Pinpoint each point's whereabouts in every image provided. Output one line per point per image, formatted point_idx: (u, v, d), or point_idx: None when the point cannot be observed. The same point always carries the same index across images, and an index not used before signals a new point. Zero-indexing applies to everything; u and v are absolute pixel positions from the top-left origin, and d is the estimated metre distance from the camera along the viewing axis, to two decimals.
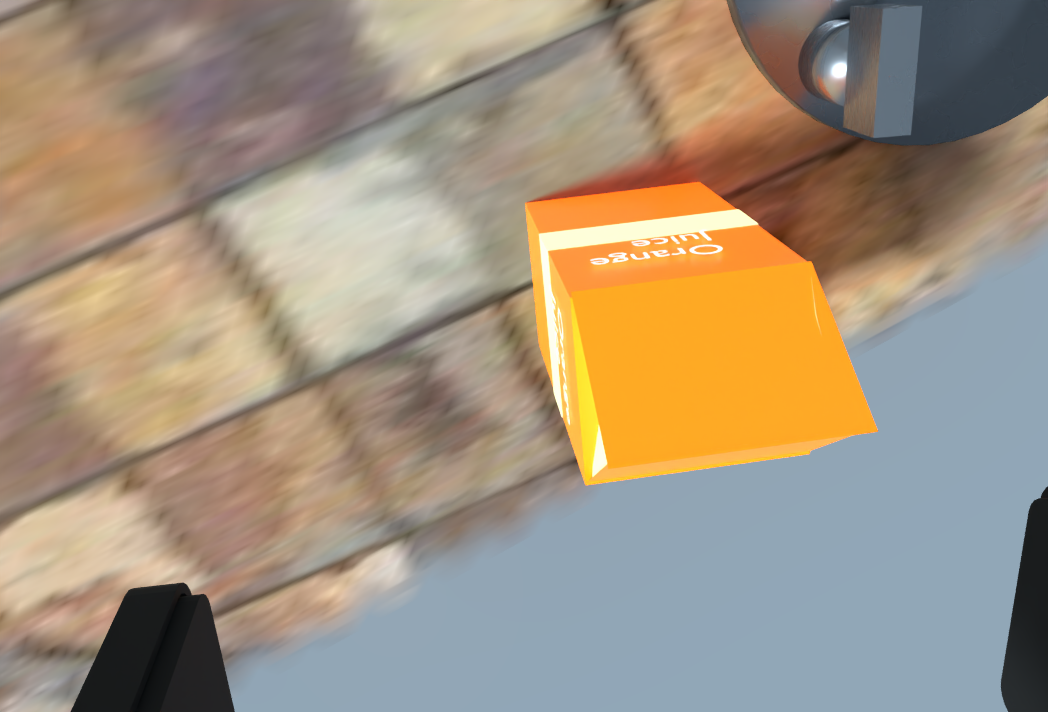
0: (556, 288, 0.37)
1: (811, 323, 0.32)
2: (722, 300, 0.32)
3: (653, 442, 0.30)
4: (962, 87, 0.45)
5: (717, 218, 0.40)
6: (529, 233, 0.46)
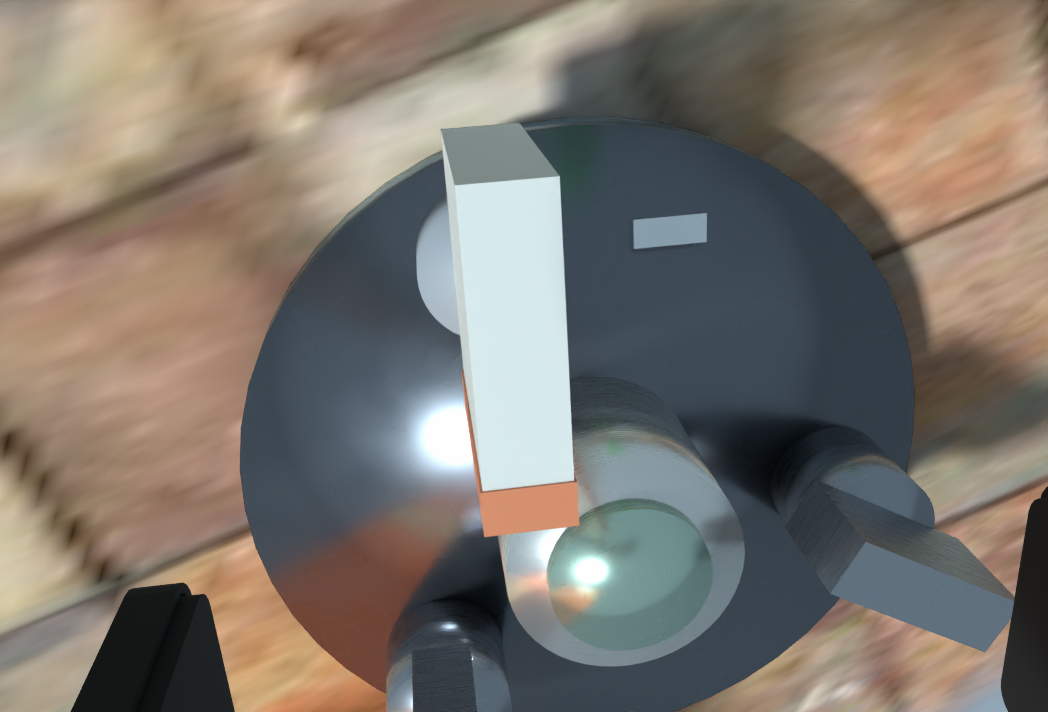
0: None
1: None
2: None
3: None
4: (640, 663, 0.31)
5: None
6: None
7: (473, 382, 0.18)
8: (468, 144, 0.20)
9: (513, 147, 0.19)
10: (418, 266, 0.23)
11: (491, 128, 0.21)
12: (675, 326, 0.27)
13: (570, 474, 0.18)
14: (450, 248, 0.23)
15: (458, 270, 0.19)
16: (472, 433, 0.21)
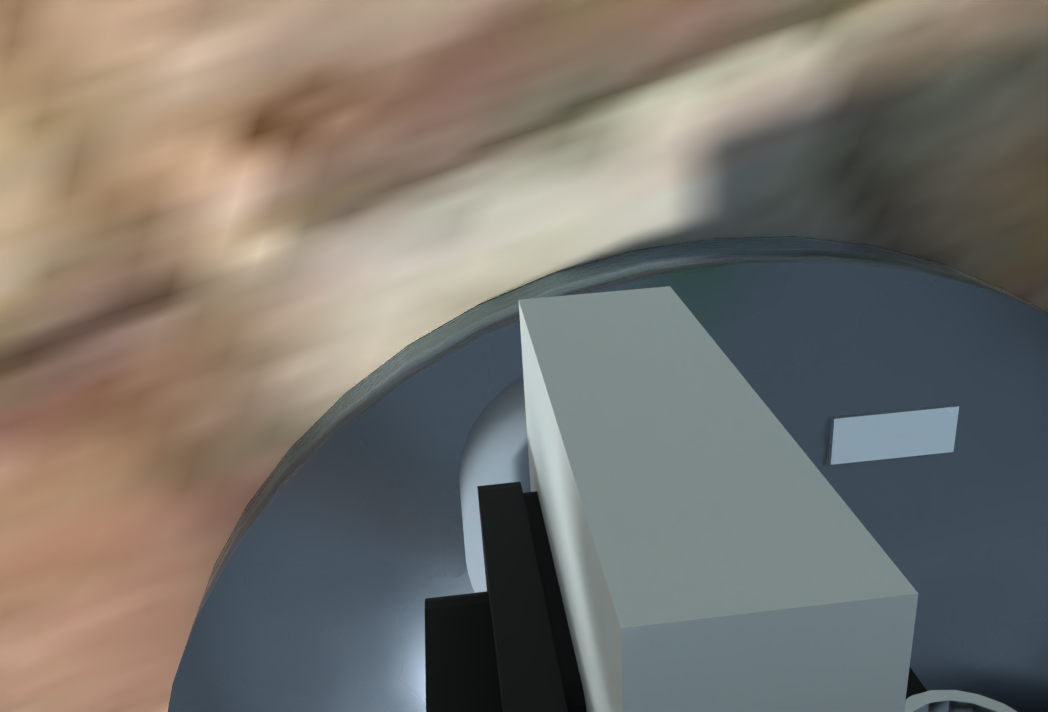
0: None
1: None
2: None
3: None
4: None
5: None
6: None
7: None
8: (592, 370, 0.09)
9: (702, 394, 0.08)
10: (468, 539, 0.12)
11: (621, 304, 0.11)
12: None
13: None
14: None
15: None
16: None
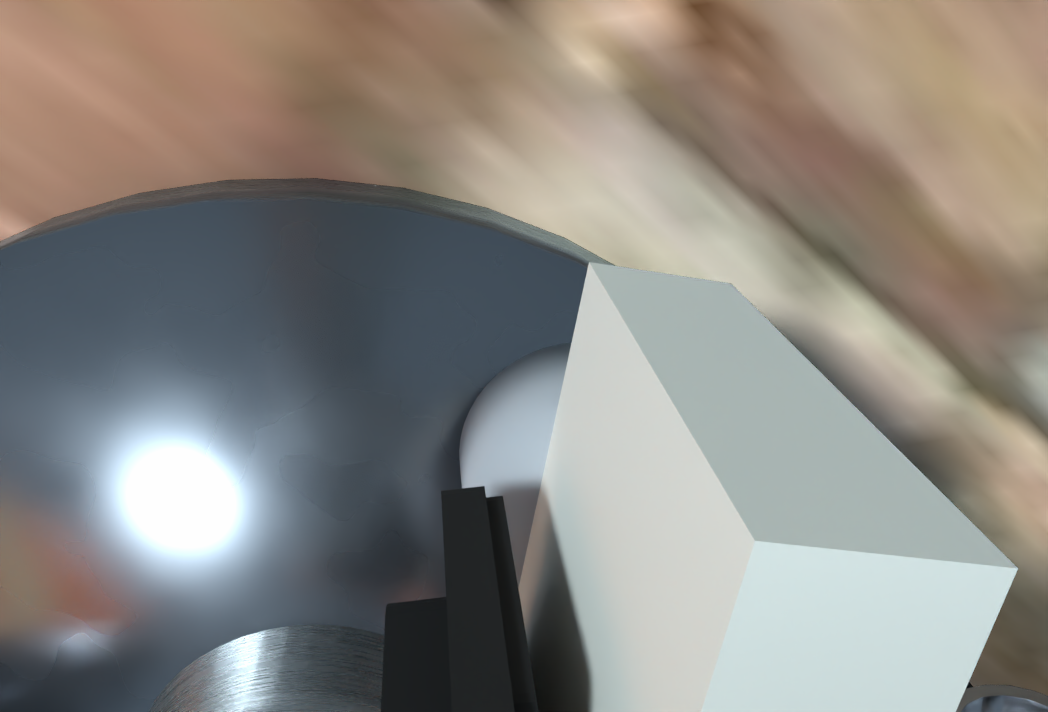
0: None
1: None
2: None
3: None
4: None
5: None
6: None
7: None
8: (675, 334, 0.09)
9: (783, 375, 0.09)
10: (476, 486, 0.12)
11: (688, 287, 0.11)
12: None
13: None
14: (542, 468, 0.12)
15: (604, 603, 0.09)
16: None
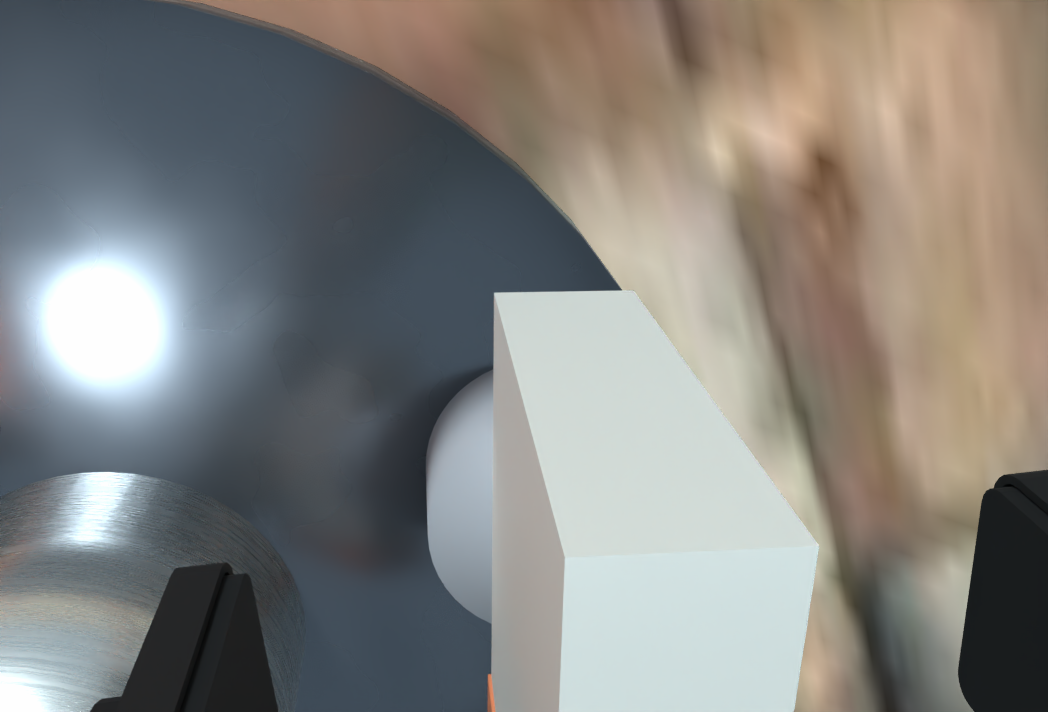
0: None
1: None
2: None
3: None
4: None
5: None
6: None
7: None
8: (557, 356, 0.10)
9: (653, 381, 0.09)
10: (431, 514, 0.13)
11: (587, 302, 0.12)
12: None
13: None
14: (490, 488, 0.13)
15: (521, 616, 0.09)
16: None
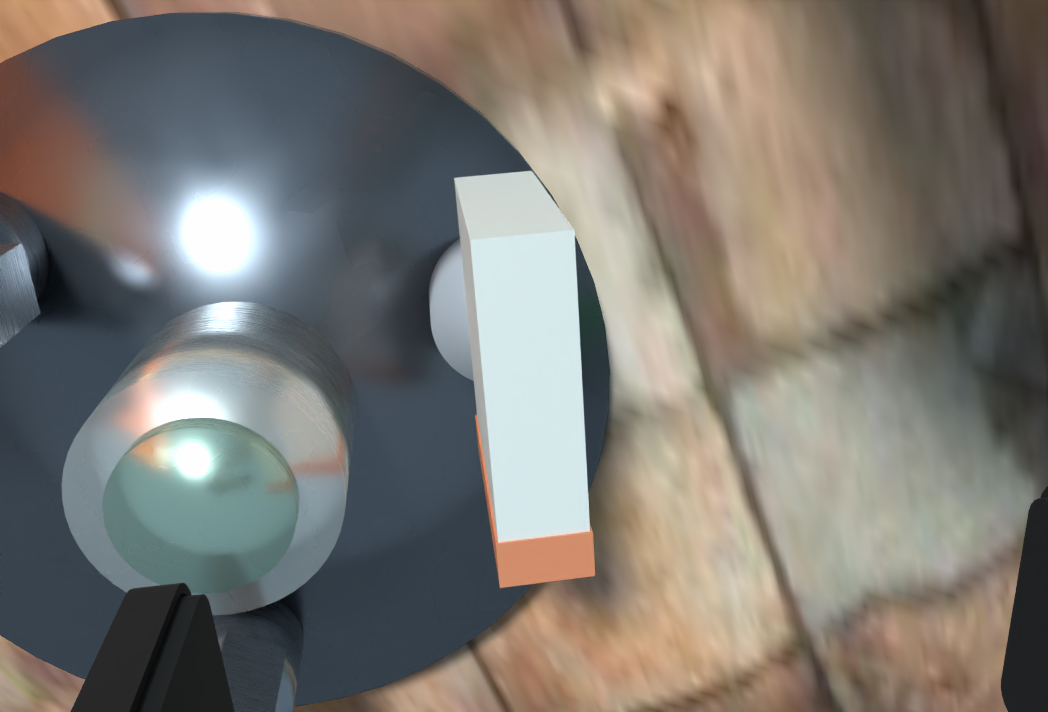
0: None
1: None
2: None
3: None
4: None
5: None
6: None
7: (488, 433, 0.18)
8: (482, 194, 0.20)
9: (527, 198, 0.19)
10: (432, 313, 0.23)
11: (504, 177, 0.21)
12: (412, 476, 0.27)
13: (586, 524, 0.18)
14: (464, 295, 0.23)
15: (472, 320, 0.19)
16: (487, 481, 0.21)
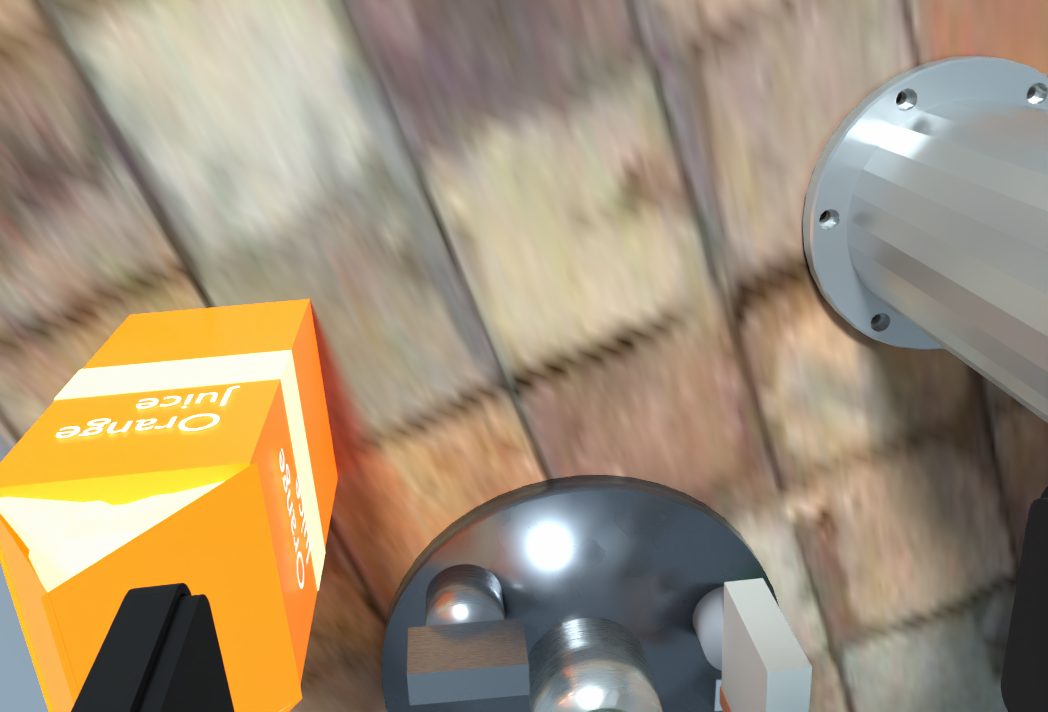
0: (241, 406, 0.30)
1: None
2: (257, 630, 0.28)
3: (83, 634, 0.23)
4: (436, 704, 0.47)
5: (318, 540, 0.36)
6: (275, 307, 0.39)
7: None
8: (750, 611, 0.41)
9: (775, 620, 0.40)
10: (705, 640, 0.44)
11: (751, 585, 0.43)
12: (668, 701, 0.48)
13: None
14: (722, 632, 0.44)
15: (747, 675, 0.41)
16: None
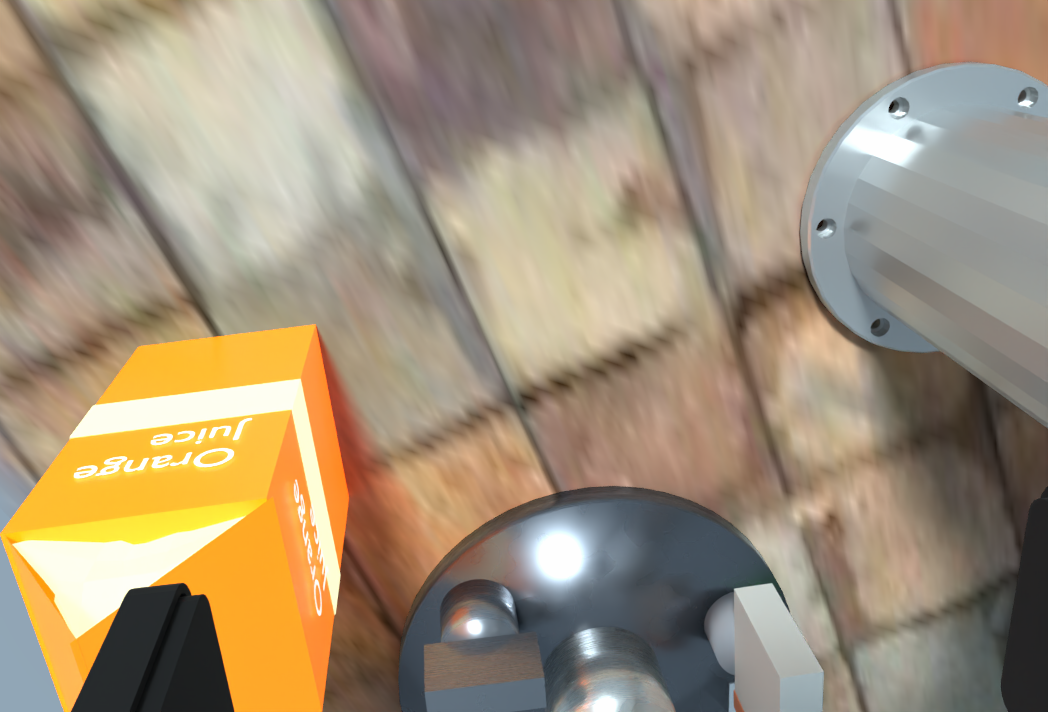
0: (254, 439, 0.31)
1: None
2: (279, 661, 0.28)
3: None
4: None
5: (333, 564, 0.37)
6: (281, 334, 0.40)
7: None
8: (760, 618, 0.41)
9: (785, 626, 0.41)
10: (717, 646, 0.45)
11: (761, 591, 0.43)
12: (683, 706, 0.49)
13: None
14: (733, 638, 0.45)
15: (760, 681, 0.41)
16: None
